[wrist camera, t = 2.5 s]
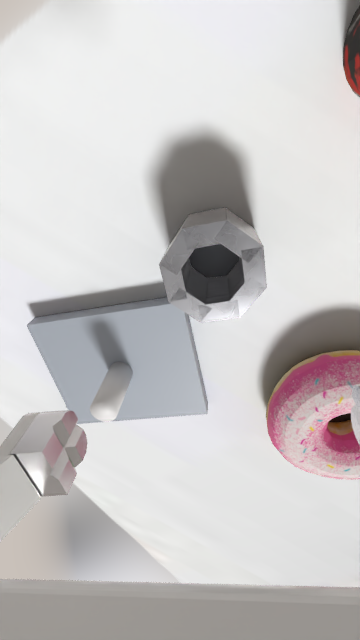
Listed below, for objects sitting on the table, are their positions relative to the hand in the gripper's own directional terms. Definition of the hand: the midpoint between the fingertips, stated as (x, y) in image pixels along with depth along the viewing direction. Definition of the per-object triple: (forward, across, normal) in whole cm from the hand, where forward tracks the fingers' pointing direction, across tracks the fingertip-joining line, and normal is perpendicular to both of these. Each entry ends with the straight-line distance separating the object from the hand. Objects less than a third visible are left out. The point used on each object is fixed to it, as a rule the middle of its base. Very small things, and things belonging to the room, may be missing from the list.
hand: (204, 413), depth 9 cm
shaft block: (+17, +10, +9) cm, 21 cm away
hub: (+17, 0, 0) cm, 17 cm away
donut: (+17, -9, +16) cm, 25 cm away
